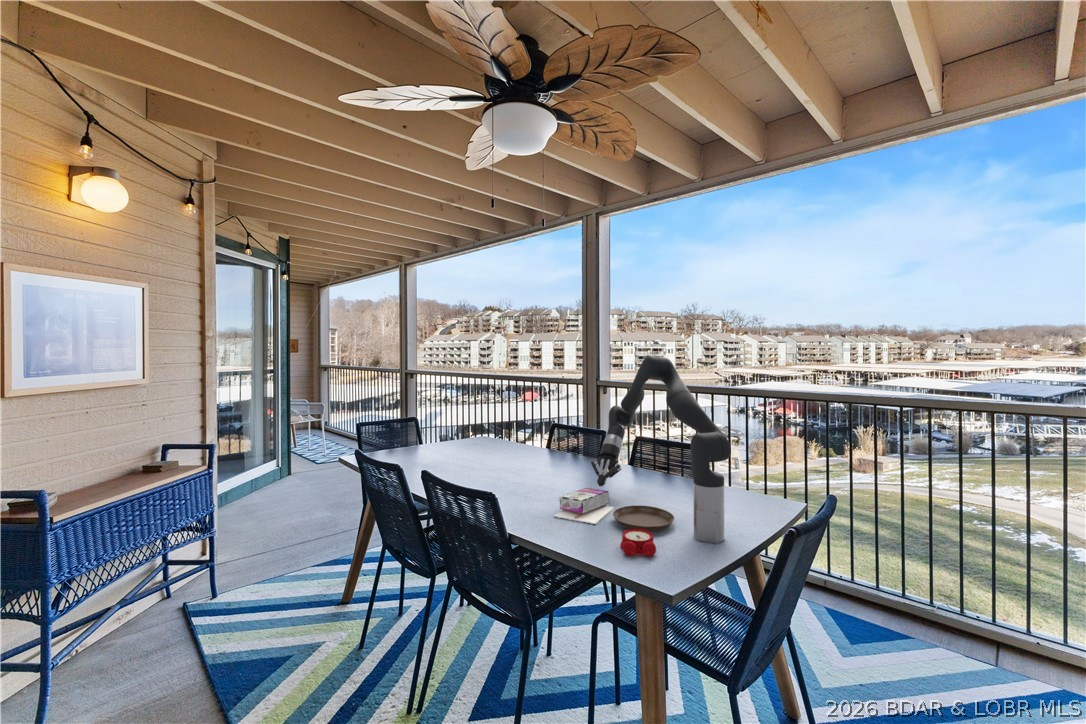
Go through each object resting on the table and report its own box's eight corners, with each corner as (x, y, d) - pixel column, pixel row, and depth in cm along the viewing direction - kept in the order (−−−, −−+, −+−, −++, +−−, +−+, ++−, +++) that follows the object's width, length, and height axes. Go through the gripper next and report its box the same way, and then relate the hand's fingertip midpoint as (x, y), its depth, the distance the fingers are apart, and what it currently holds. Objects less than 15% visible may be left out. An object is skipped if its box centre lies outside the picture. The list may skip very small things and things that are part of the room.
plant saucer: (648, 510, 175) (648, 501, 175) (687, 528, 156) (687, 519, 156) (601, 519, 166) (601, 510, 166) (637, 540, 148) (637, 530, 147)
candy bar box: (587, 500, 186) (559, 509, 174) (586, 487, 186) (558, 496, 175) (610, 503, 178) (582, 514, 167) (609, 490, 179) (581, 499, 167)
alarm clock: (652, 528, 148) (658, 536, 133) (653, 549, 147) (659, 559, 132) (619, 527, 149) (621, 535, 134) (619, 548, 148) (622, 558, 133)
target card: (595, 525, 160) (595, 523, 160) (554, 517, 168) (554, 515, 168) (614, 508, 176) (614, 507, 176) (575, 502, 184) (575, 500, 184)
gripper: (593, 441, 193) (581, 478, 183) (624, 444, 187) (613, 482, 176) (599, 451, 198) (587, 488, 188) (629, 454, 191) (618, 492, 181)
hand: (600, 485), depth 182 cm, fingers closed
